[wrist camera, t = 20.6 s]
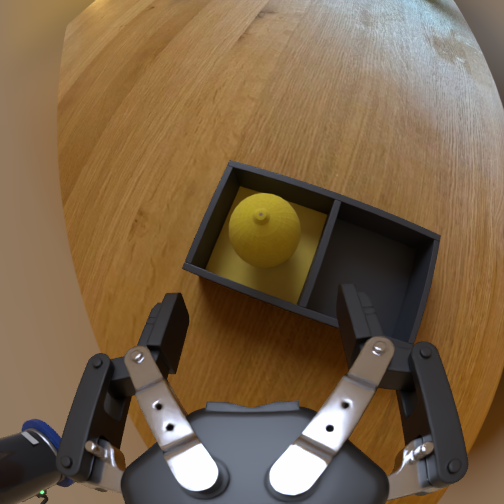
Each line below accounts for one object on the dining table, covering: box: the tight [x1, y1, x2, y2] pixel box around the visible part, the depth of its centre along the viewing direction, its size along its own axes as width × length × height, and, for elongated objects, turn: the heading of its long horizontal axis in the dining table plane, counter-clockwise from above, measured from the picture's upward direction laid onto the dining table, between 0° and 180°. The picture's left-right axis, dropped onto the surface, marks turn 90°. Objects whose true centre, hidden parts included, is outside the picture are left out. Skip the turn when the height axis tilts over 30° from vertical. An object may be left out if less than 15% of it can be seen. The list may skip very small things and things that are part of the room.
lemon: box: [229, 193, 301, 268], centre depth 22 cm, size 6×6×8 cm
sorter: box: [182, 160, 441, 348], centre depth 23 cm, size 10×20×4 cm, turn 68°
